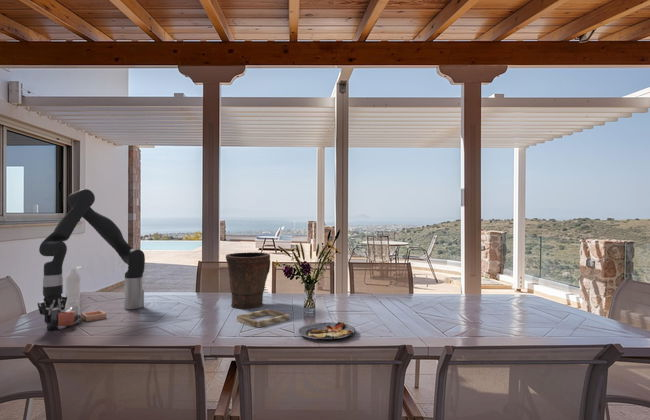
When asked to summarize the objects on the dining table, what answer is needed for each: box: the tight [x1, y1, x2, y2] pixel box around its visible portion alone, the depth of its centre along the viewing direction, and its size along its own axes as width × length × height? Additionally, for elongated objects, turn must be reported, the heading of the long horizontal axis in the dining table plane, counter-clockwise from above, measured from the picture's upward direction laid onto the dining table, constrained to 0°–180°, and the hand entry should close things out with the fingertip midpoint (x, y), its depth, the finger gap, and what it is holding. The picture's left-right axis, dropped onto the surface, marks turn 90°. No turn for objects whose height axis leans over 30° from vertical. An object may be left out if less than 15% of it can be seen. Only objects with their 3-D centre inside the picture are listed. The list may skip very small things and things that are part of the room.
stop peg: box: [46, 306, 59, 331], centre depth 178 cm, size 4×4×10 cm
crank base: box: [74, 318, 84, 325], centre depth 189 cm, size 9×9×1 cm
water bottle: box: [64, 265, 83, 317], centre depth 204 cm, size 9×6×25 cm
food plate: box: [298, 321, 356, 340], centre depth 171 cm, size 25×23×4 cm
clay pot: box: [225, 251, 271, 310], centre depth 229 cm, size 25×29×30 cm
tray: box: [80, 309, 107, 323], centre depth 197 cm, size 9×9×2 cm
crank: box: [58, 307, 79, 327], centre depth 185 cm, size 12×6×6 cm, turn 20°
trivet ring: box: [236, 308, 290, 328], centre depth 194 cm, size 21×18×2 cm
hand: (52, 321), depth 178 cm, fingers closed on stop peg, 4 cm apart
